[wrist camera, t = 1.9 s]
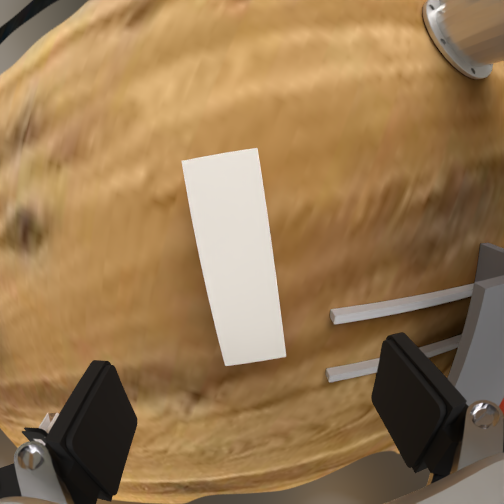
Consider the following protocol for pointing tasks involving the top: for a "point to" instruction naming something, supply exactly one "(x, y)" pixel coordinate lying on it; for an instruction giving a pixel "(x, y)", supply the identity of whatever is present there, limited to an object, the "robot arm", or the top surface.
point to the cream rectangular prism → (236, 254)
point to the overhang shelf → (468, 343)
